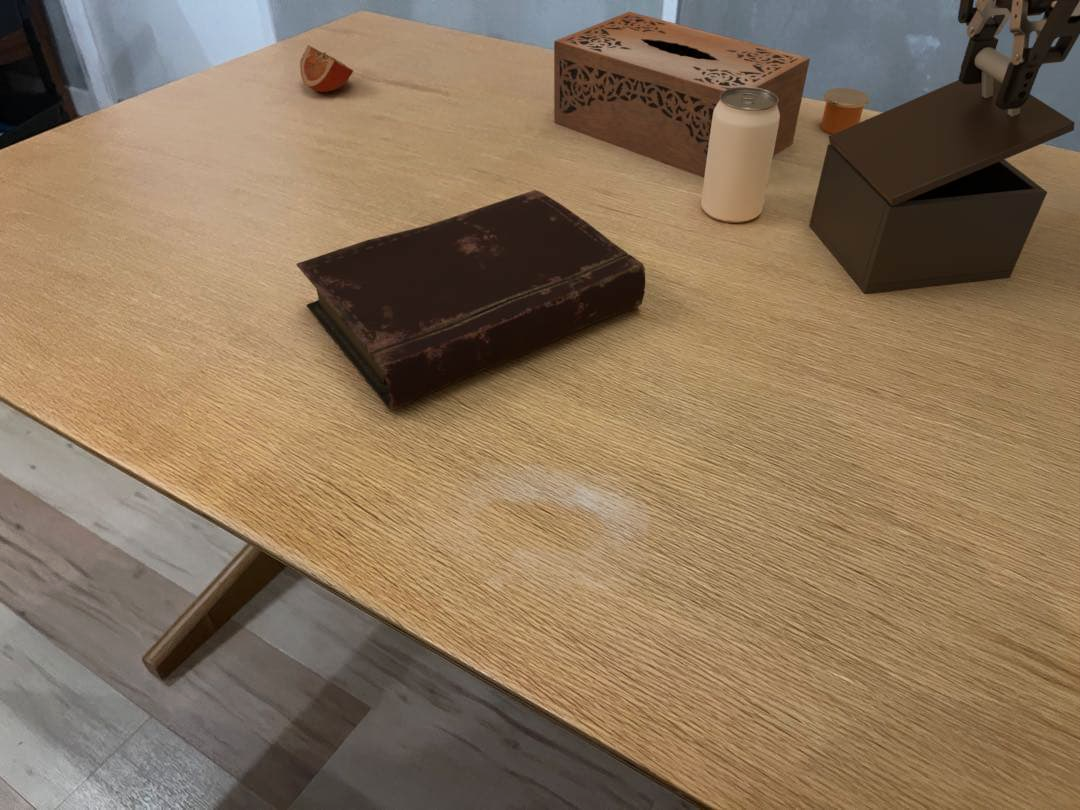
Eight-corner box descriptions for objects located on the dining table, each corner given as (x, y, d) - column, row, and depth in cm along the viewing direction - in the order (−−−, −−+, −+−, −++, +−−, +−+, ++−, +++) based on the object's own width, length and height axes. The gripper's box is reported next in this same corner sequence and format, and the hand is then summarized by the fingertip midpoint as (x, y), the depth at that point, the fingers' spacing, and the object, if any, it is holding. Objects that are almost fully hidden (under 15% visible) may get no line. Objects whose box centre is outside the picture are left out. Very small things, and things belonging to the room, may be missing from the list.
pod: (849, 117, 104) (857, 86, 102) (868, 135, 101) (876, 102, 98) (810, 121, 104) (817, 89, 101) (828, 138, 100) (835, 106, 97)
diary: (645, 312, 74) (649, 264, 70) (394, 420, 64) (385, 370, 60) (531, 226, 85) (530, 181, 82) (304, 305, 75) (292, 258, 72)
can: (697, 221, 86) (712, 107, 78) (703, 192, 90) (717, 82, 82) (760, 227, 84) (782, 113, 76) (763, 198, 89) (784, 87, 81)
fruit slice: (294, 85, 115) (286, 48, 112) (338, 74, 118) (332, 37, 115) (320, 103, 110) (312, 65, 107) (365, 91, 113) (359, 54, 109)
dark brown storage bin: (940, 212, 86) (968, 131, 80) (1010, 277, 77) (1048, 191, 71) (808, 225, 85) (827, 144, 79) (864, 293, 75) (890, 207, 70)
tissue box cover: (554, 122, 104) (554, 40, 98) (624, 89, 112) (629, 11, 106) (726, 185, 91) (740, 96, 85) (792, 142, 99) (809, 58, 92)
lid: (987, 74, 77) (987, 21, 73) (1074, 130, 68) (1079, 72, 64) (829, 143, 79) (822, 94, 75) (892, 206, 70) (887, 154, 66)
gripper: (1187, -123, 55) (1082, 124, 66) (1053, -157, 65) (982, 61, 77) (1084, -115, 54) (996, 133, 65) (965, -151, 65) (907, 68, 76)
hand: (989, 93), depth 71 cm, fingers closed on lid, 5 cm apart
